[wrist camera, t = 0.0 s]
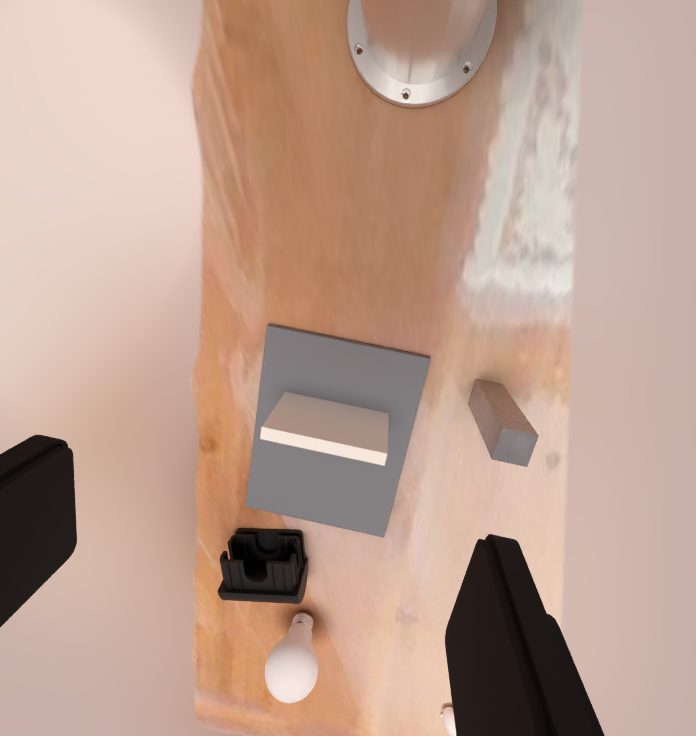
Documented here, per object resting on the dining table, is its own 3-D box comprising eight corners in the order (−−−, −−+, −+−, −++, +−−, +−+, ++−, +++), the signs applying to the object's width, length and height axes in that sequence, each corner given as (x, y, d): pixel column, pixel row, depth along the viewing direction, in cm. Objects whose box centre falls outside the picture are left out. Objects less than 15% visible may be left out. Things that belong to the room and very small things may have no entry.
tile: (285, 391, 47) (261, 426, 39) (388, 413, 47) (387, 453, 38) (283, 404, 48) (259, 441, 40) (385, 425, 47) (383, 468, 39)
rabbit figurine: (425, 708, 63) (453, 707, 57) (441, 689, 65) (470, 686, 59) (450, 751, 60) (482, 755, 55) (466, 730, 63) (499, 731, 57)
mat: (269, 323, 46) (267, 325, 45) (429, 356, 45) (430, 359, 44) (248, 501, 54) (245, 506, 53) (384, 532, 53) (384, 537, 52)
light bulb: (317, 639, 60) (301, 724, 50) (275, 621, 60) (250, 703, 50) (334, 608, 58) (321, 690, 48) (290, 590, 58) (268, 668, 48)
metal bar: (475, 379, 46) (502, 428, 34) (502, 384, 46) (538, 435, 34) (468, 403, 47) (491, 459, 35) (494, 409, 47) (526, 466, 35)
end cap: (239, 569, 58) (220, 611, 52) (232, 527, 56) (212, 565, 49) (310, 572, 57) (299, 616, 50) (306, 529, 55) (294, 569, 48)
